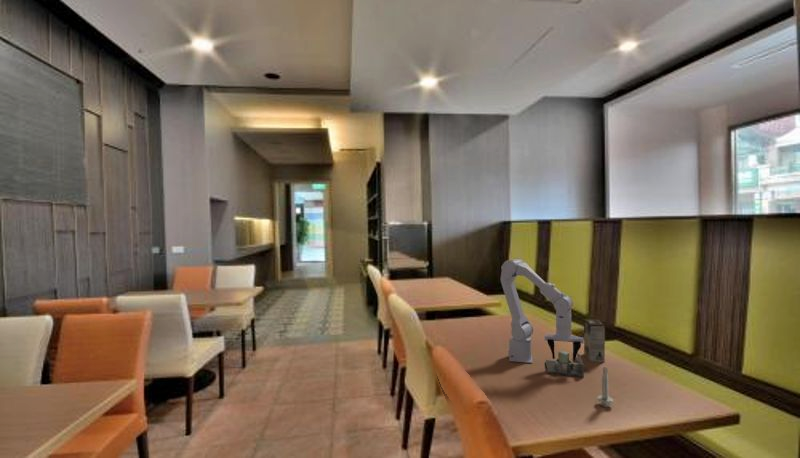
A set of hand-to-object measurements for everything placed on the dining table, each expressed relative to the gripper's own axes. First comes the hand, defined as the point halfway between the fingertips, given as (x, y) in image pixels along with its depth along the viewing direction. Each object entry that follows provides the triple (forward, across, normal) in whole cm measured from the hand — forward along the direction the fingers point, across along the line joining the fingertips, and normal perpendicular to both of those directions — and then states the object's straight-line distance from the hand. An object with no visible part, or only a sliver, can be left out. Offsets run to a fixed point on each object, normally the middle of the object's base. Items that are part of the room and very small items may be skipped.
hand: (563, 358), depth 153 cm
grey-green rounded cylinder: (+3, 0, 0) cm, 3 cm away
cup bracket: (+4, 0, 0) cm, 4 cm away
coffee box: (+5, +14, +17) cm, 22 cm away
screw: (+5, +10, -27) cm, 29 cm away
